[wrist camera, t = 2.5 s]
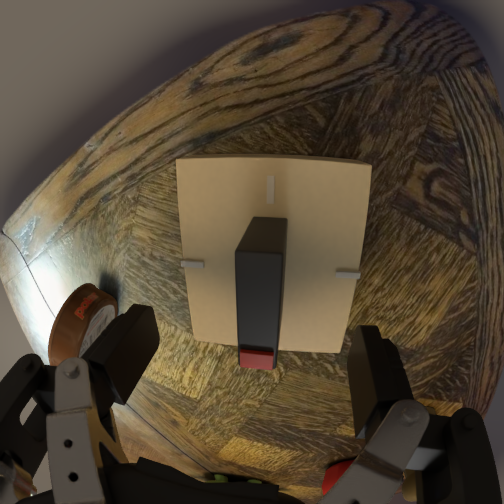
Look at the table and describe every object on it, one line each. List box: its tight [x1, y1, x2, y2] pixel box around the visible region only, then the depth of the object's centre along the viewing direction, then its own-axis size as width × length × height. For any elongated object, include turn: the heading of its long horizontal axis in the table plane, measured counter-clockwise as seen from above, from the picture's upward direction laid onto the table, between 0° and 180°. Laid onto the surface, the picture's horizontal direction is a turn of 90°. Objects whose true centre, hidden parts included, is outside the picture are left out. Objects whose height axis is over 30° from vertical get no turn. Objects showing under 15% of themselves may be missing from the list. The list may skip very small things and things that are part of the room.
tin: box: [48, 283, 118, 366], centre depth 20 cm, size 15×3×8 cm, turn 156°
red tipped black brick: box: [235, 217, 288, 370], centre depth 13 cm, size 6×2×5 cm, turn 0°
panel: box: [176, 154, 372, 353], centre depth 17 cm, size 12×10×3 cm
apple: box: [322, 460, 354, 495], centre depth 26 cm, size 8×8×8 cm
